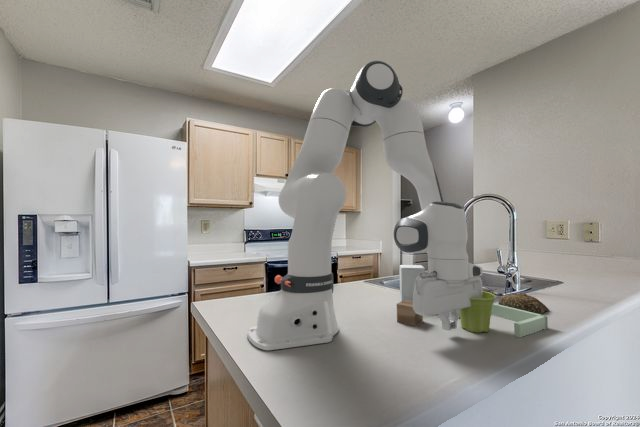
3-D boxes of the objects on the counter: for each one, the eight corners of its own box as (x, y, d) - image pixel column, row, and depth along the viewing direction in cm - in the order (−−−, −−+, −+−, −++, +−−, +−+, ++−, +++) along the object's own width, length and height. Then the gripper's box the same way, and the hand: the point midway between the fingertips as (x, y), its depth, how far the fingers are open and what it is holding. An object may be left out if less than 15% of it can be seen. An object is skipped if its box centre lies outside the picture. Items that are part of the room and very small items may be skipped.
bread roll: (493, 309, 91) (493, 293, 91) (502, 301, 100) (502, 286, 100) (545, 318, 82) (545, 300, 82) (550, 308, 91) (550, 292, 91)
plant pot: (496, 338, 67) (495, 300, 68) (451, 331, 72) (450, 295, 73) (497, 326, 75) (496, 292, 76) (457, 320, 80) (456, 288, 81)
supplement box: (426, 309, 91) (425, 268, 91) (401, 308, 92) (400, 267, 93) (422, 302, 98) (422, 264, 98) (399, 302, 100) (399, 264, 100)
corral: (520, 337, 68) (519, 324, 68) (454, 316, 83) (453, 306, 83) (547, 328, 74) (547, 316, 74) (481, 310, 89) (481, 300, 89)
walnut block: (414, 326, 76) (414, 307, 76) (397, 322, 80) (396, 303, 80) (422, 321, 80) (422, 303, 80) (405, 317, 83) (405, 300, 84)
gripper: (427, 276, 62) (428, 342, 62) (487, 267, 72) (488, 325, 72) (405, 271, 68) (406, 332, 68) (463, 264, 78) (465, 317, 77)
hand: (449, 328), depth 70 cm, fingers closed
